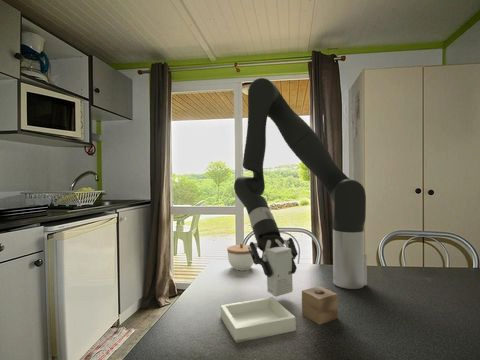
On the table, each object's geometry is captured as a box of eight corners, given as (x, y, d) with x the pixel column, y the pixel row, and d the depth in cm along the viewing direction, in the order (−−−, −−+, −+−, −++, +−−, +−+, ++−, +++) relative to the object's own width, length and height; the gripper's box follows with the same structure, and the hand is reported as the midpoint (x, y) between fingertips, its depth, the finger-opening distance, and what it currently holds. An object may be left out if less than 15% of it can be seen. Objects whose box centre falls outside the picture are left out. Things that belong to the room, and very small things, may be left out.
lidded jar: (238, 262, 119) (238, 239, 119) (261, 267, 113) (261, 242, 113) (221, 269, 110) (221, 244, 110) (245, 274, 104) (244, 248, 104)
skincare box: (276, 297, 79) (275, 252, 79) (266, 292, 83) (265, 248, 82) (293, 291, 82) (292, 248, 82) (283, 286, 86) (281, 245, 86)
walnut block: (319, 309, 77) (319, 285, 77) (337, 318, 71) (337, 293, 71) (302, 314, 74) (301, 290, 74) (319, 324, 68) (319, 298, 68)
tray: (272, 308, 77) (272, 296, 77) (295, 330, 66) (295, 317, 66) (220, 317, 72) (220, 305, 72) (236, 343, 61) (235, 328, 61)
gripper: (244, 219, 87) (261, 271, 76) (288, 215, 91) (310, 264, 81) (239, 234, 92) (254, 284, 81) (280, 230, 97) (300, 277, 86)
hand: (282, 274), depth 81 cm, fingers closed on skincare box, 6 cm apart
